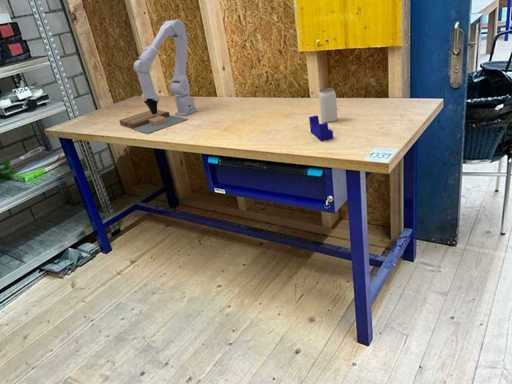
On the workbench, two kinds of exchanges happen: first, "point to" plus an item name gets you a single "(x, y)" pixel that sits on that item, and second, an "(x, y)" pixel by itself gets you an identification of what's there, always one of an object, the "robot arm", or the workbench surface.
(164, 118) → the tile
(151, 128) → the mat
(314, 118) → the blue angular piece
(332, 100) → the can
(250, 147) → the workbench surface
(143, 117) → the deck
